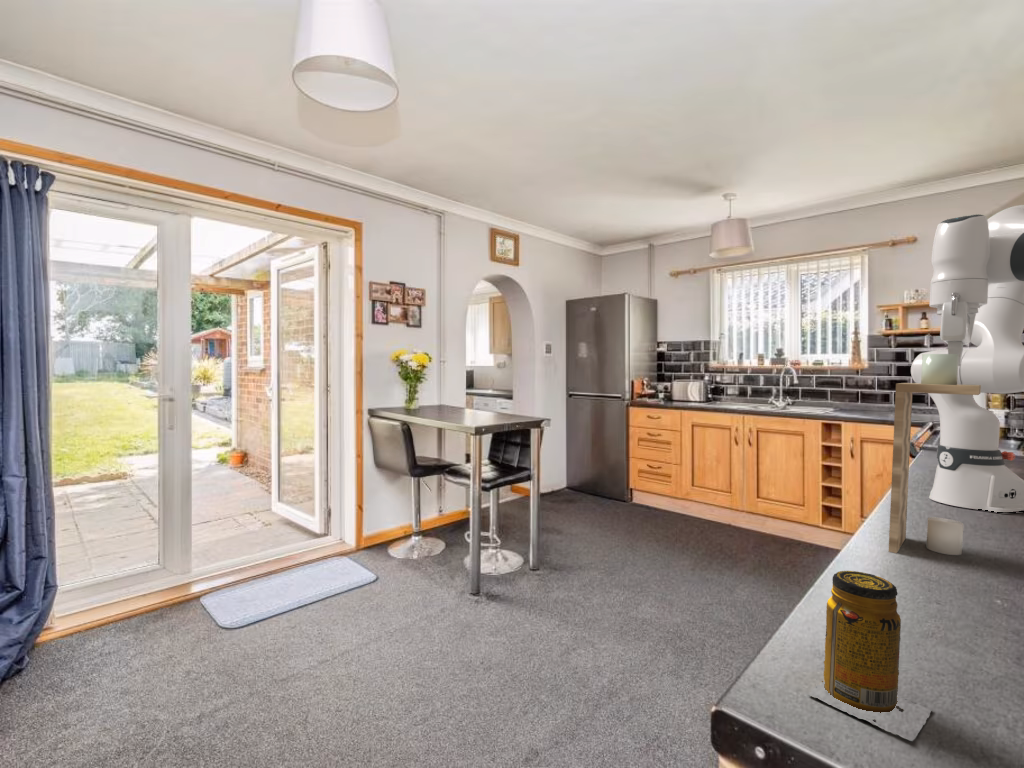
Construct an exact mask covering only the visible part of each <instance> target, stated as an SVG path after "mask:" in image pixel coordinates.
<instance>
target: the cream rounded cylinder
mask: <svg viewBox="0 0 1024 768" xmlns="http://www.w3.org/2000/svg"><path fill="white" fill-rule="evenodd" d="M926 526H927V527H926V528H927V529H926V541H925V542H926V543H925V545H926V547H925V549H928V550H929V551H931V552H934V553H939V554H944V555H949V556H962V554H963V553H962V552H963V539H964V538H963V537H964V523H963V522H961V521H959V520H955V519H950V518H944V517H935V516H934V517H933V516H931V517H928V518H927V525H926Z"/></svg>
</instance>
